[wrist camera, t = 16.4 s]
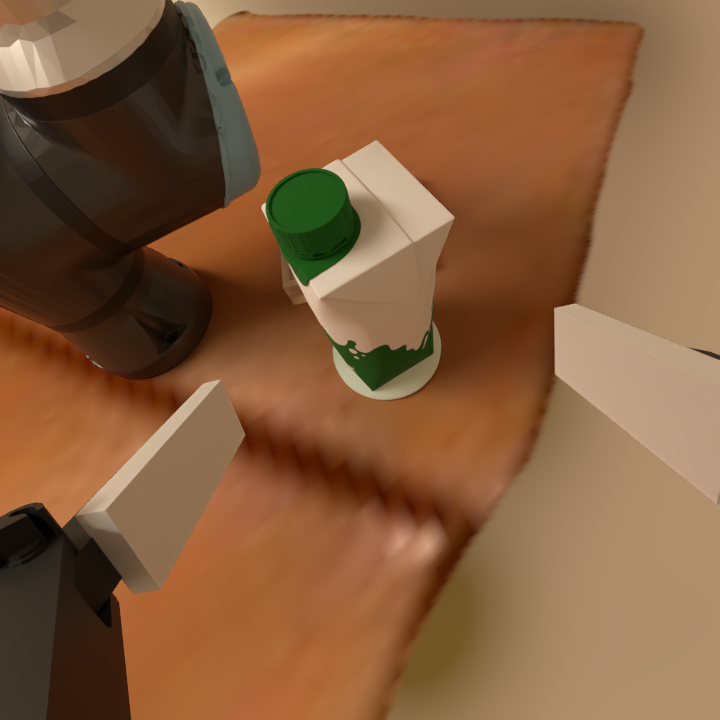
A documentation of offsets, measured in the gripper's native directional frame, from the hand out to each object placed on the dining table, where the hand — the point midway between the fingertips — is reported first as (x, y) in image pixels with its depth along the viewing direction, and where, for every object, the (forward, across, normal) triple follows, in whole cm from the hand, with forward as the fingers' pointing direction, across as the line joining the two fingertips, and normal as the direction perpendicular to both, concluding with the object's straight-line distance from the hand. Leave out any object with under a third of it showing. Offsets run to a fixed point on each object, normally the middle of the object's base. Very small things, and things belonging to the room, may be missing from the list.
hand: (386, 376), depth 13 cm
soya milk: (+20, 0, -6) cm, 21 cm away
